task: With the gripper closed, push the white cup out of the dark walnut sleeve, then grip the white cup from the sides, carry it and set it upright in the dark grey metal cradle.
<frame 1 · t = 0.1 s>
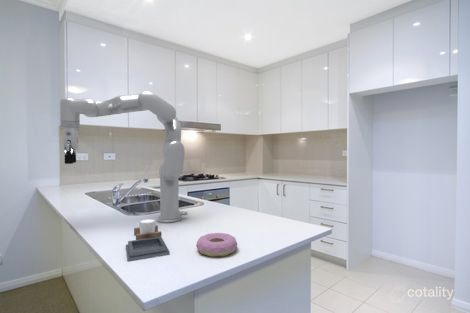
hand: (70, 163, 121), 31 cm above the counter, tool pointing down, fingers open, 9 cm apart
donut: (216, 251, 98), on the counter
white cup: (147, 237, 113), on the counter
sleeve: (147, 236, 113), on the counter
cradle: (146, 250, 97), on the counter
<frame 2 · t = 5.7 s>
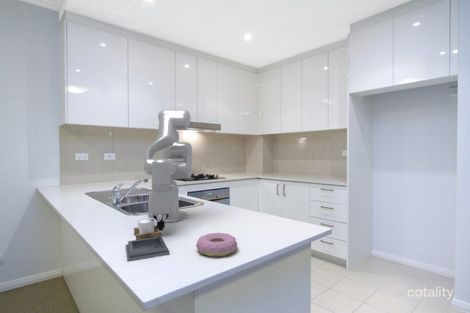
hand: (160, 229, 115), 2 cm above the counter, tool pointing down, fingers closed
white cup: (147, 237, 112), on the counter, touching gripper
everything else where it was.
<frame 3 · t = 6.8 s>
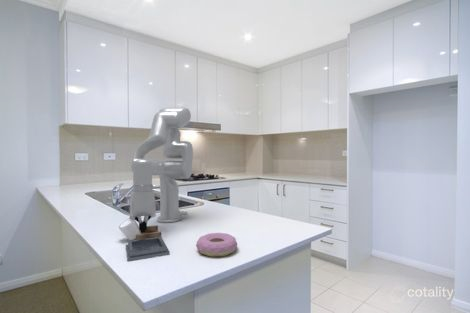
hand: (142, 231, 111), 3 cm above the counter, tool pointing down, fingers closed
white cup: (135, 236, 110), point 1 cm above the counter, touching gripper
everything else where it was.
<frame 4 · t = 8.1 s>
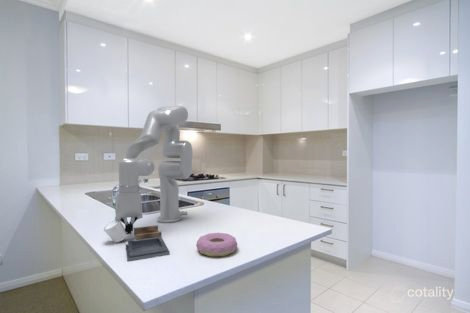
hand: (129, 233, 109), 3 cm above the counter, tool pointing down, fingers closed
white cup: (121, 238, 108), point 1 cm above the counter, touching gripper
everything else where it was.
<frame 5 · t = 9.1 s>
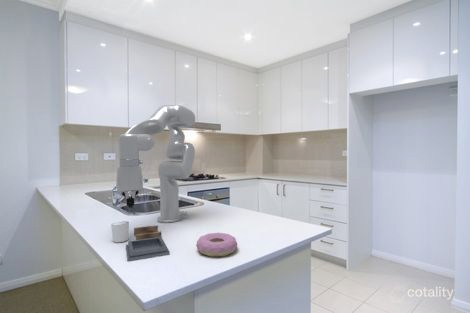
hand: (130, 207, 110), 13 cm above the counter, tool pointing down, fingers closed
white cup: (121, 240, 108), on the counter
everything else where it was.
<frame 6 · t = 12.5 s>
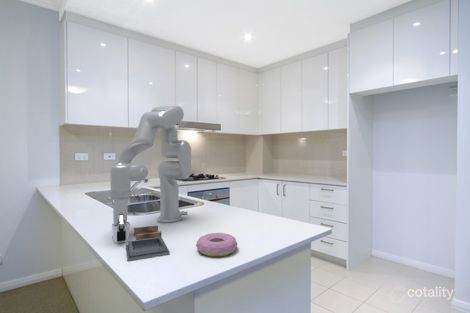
hand: (121, 237, 108), 1 cm above the counter, tool pointing down, fingers closed on white cup, 6 cm apart
white cup: (121, 240, 108), on the counter, touching gripper
everything else where it was.
when the fingers open (4 cm above the counter, at t = 18.3 s): white cup drops 2 cm, resting on cradle.
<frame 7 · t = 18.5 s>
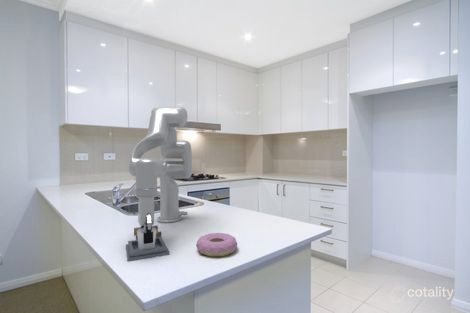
hand: (146, 238, 97), 4 cm above the counter, tool pointing down, fingers open, 8 cm apart
white cup: (146, 248, 97), point 1 cm above the counter, touching cradle
everything else where it was.
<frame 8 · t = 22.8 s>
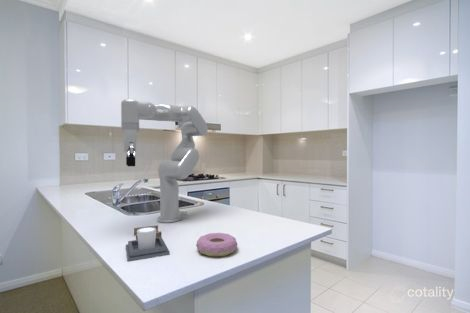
hand: (130, 165, 118), 30 cm above the counter, tool pointing down, fingers open, 9 cm apart
nothing on the counter moved.
at the end: white cup 0.2 cm off-centre on the cradle, point 0.8 cm above the cradle's base; white cup tilted 0°; the gripper is holding nothing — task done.
